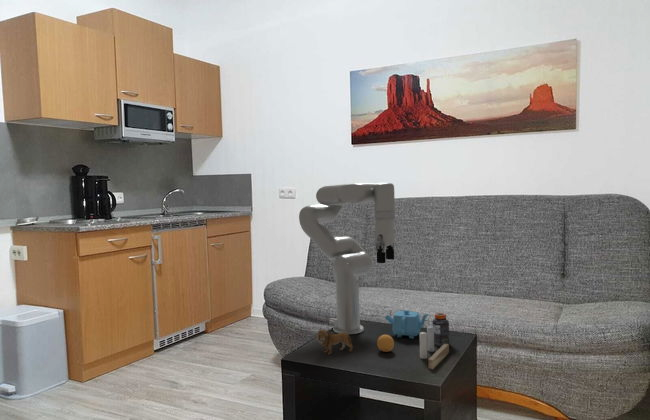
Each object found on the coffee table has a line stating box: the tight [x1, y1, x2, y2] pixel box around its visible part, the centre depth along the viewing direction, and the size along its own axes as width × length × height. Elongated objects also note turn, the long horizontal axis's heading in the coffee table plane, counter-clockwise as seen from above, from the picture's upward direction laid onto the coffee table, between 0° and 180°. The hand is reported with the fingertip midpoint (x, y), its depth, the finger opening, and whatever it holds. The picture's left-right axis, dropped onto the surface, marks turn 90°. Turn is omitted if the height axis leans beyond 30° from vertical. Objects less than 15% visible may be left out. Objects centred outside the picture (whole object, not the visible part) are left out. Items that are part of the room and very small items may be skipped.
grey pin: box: [426, 325, 435, 353], centre depth 169 cm, size 2×2×8 cm
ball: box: [376, 334, 395, 353], centre depth 170 cm, size 6×6×6 cm
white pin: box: [419, 331, 428, 360], centre depth 162 cm, size 2×2×8 cm
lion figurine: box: [316, 328, 355, 355], centre depth 171 cm, size 15×5×9 cm, turn 115°
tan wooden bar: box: [427, 343, 450, 370], centre depth 160 cm, size 2×18×3 cm, turn 149°
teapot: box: [384, 309, 430, 340], centre depth 188 cm, size 18×14×10 cm
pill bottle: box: [432, 312, 450, 347], centre depth 177 cm, size 6×6×11 cm
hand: (385, 261), depth 179 cm, fingers open, 9 cm apart
